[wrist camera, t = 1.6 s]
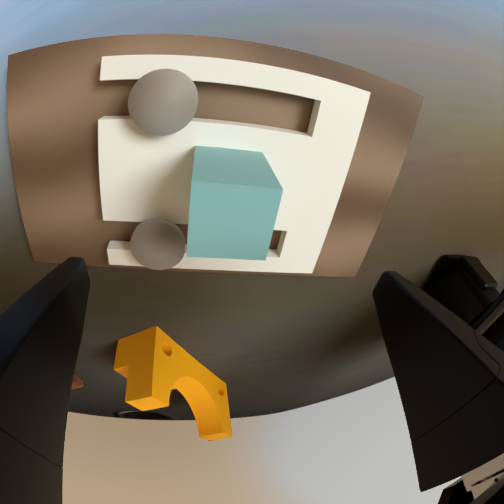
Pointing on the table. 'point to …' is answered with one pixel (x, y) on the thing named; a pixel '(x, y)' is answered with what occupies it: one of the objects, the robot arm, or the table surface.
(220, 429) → the pipe clamp
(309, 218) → the keyhole panel
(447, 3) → the table surface
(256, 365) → the table surface
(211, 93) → the boss board
